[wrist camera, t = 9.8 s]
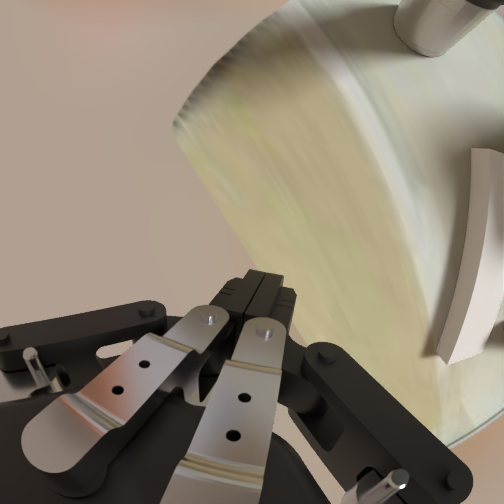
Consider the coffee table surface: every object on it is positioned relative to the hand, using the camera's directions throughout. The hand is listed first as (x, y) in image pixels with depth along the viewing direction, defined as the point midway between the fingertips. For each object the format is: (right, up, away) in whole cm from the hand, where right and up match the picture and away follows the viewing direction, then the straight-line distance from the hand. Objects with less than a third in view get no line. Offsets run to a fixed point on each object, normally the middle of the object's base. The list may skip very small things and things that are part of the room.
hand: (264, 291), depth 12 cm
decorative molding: (+37, 0, +20) cm, 42 cm away
